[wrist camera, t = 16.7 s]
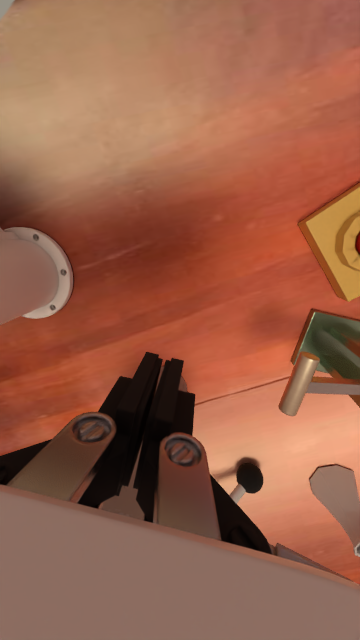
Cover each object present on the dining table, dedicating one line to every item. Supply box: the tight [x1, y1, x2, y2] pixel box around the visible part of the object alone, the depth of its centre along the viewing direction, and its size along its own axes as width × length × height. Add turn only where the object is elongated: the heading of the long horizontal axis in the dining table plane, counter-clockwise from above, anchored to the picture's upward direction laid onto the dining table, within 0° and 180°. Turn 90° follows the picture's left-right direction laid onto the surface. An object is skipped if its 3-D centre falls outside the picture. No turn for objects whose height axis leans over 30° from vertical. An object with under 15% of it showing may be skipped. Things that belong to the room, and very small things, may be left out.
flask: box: [310, 465, 360, 557], centre depth 38 cm, size 7×7×10 cm
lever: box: [279, 352, 360, 416], centre depth 24 cm, size 13×6×2 cm, turn 79°
